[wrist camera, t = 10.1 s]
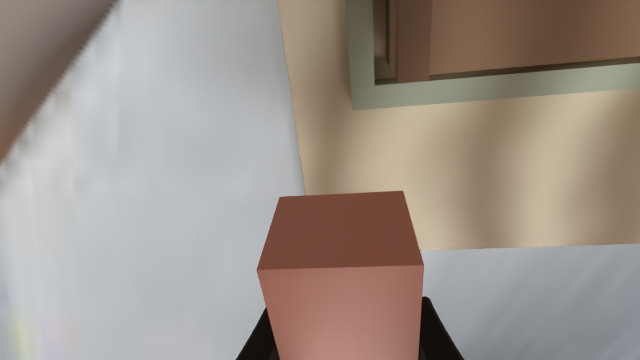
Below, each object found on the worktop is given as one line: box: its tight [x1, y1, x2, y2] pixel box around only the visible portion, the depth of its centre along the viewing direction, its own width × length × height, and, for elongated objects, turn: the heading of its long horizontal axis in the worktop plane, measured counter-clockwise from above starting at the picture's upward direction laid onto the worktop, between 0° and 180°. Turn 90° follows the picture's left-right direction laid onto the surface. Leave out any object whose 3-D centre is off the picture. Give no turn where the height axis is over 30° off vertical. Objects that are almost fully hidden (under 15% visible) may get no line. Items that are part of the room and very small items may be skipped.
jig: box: [278, 0, 640, 251], centre depth 15 cm, size 20×16×2 cm
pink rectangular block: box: [257, 191, 424, 360], centre depth 11 cm, size 4×8×3 cm, turn 6°
